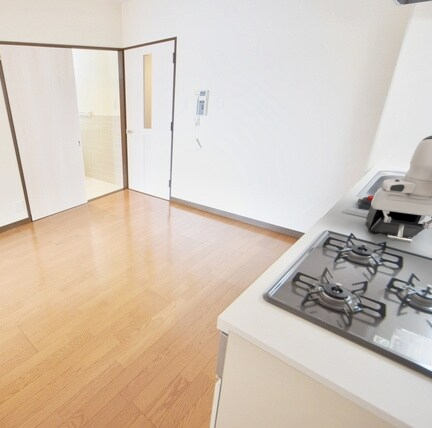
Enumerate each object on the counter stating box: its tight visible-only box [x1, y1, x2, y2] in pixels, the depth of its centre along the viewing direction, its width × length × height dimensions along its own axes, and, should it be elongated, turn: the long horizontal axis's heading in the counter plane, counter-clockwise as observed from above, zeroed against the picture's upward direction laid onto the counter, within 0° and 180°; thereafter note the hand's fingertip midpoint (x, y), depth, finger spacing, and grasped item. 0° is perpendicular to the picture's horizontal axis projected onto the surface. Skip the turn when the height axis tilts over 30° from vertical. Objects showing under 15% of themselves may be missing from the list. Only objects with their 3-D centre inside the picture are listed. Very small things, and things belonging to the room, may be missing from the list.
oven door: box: [371, 217, 425, 243], centre depth 100 cm, size 7×12×12 cm
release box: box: [356, 196, 372, 211], centre depth 130 cm, size 8×8×4 cm
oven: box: [365, 190, 422, 238], centre depth 108 cm, size 12×12×14 cm
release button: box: [367, 195, 374, 201], centre depth 129 cm, size 3×3×2 cm
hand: (405, 224), depth 94 cm, fingers open, 8 cm apart
